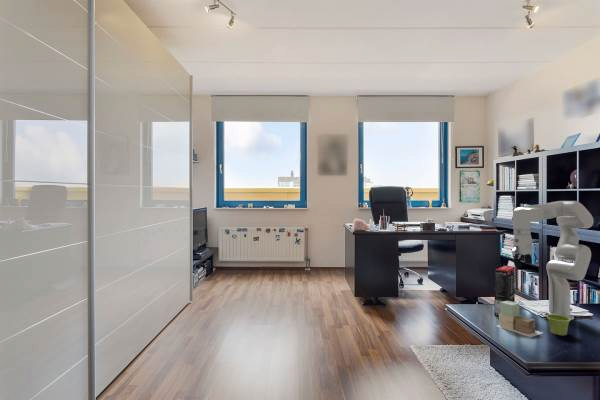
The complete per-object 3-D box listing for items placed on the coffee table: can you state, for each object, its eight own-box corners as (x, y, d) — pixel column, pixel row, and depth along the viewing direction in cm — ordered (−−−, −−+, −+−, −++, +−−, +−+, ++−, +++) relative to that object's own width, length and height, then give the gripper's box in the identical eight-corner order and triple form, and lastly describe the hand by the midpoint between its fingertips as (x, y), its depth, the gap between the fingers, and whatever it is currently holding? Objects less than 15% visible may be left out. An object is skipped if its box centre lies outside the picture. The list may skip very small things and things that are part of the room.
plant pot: (564, 340, 162) (564, 321, 162) (542, 333, 170) (542, 316, 170) (574, 336, 166) (574, 318, 166) (553, 330, 174) (552, 313, 175)
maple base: (507, 323, 182) (507, 311, 182) (521, 327, 176) (520, 315, 176) (499, 325, 179) (498, 313, 179) (512, 329, 172) (512, 317, 172)
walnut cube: (522, 328, 175) (522, 316, 175) (535, 332, 169) (535, 319, 169) (515, 330, 172) (515, 318, 172) (528, 334, 166) (528, 321, 166)
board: (508, 324, 183) (508, 322, 183) (543, 335, 168) (543, 332, 168) (495, 328, 178) (495, 325, 178) (530, 339, 163) (530, 337, 163)
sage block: (519, 315, 176) (519, 303, 176) (512, 317, 173) (512, 305, 173) (507, 312, 181) (507, 300, 181) (500, 313, 178) (500, 302, 178)
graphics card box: (502, 310, 206) (502, 264, 206) (516, 313, 201) (515, 266, 201) (494, 317, 194) (493, 269, 194) (508, 320, 189) (507, 270, 189)
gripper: (519, 234, 174) (520, 268, 175) (538, 231, 183) (540, 263, 183) (504, 233, 181) (506, 265, 181) (524, 230, 189) (525, 261, 189)
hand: (523, 264), depth 182 cm, fingers open, 9 cm apart
